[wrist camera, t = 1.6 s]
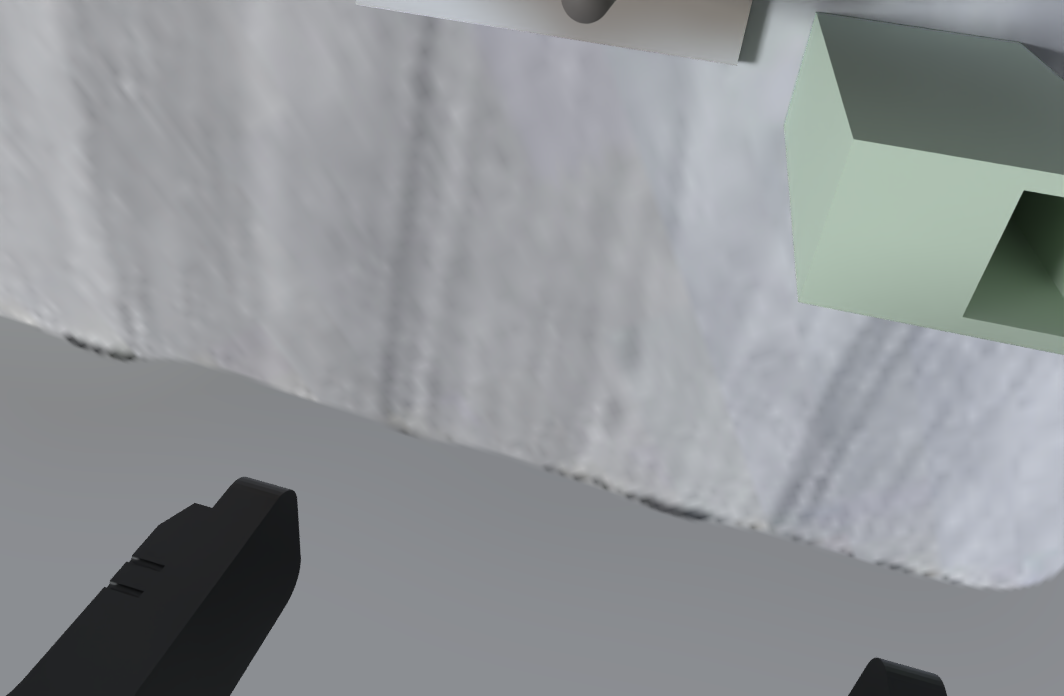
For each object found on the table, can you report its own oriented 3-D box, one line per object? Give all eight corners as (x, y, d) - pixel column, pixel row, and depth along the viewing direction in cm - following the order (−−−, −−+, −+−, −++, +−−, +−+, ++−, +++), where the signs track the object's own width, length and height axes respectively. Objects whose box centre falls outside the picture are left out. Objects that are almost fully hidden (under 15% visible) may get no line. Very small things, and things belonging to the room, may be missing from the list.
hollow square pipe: (816, 11, 25) (853, 139, 15) (1019, 42, 24) (1200, 198, 14) (777, 148, 27) (787, 333, 17) (960, 179, 26) (1078, 392, 17)
